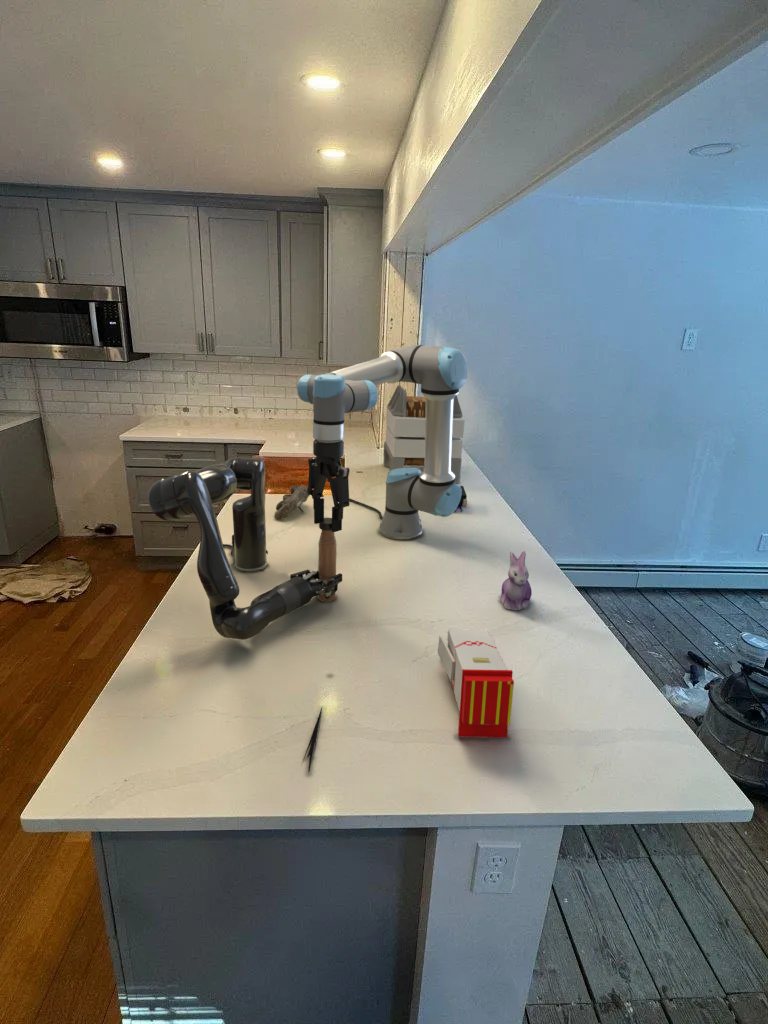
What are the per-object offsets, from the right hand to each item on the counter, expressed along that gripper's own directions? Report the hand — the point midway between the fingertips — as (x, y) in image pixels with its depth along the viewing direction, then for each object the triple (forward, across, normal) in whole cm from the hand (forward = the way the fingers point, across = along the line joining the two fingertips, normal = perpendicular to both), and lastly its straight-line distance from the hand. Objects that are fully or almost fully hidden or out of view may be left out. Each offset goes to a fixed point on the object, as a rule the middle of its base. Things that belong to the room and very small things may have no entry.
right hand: (327, 526), depth 147 cm
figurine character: (+21, +26, -87) cm, 93 cm away
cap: (-1, 0, 0) cm, 1 cm away
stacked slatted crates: (+21, +70, -112) cm, 134 cm away
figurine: (+21, -35, -38) cm, 56 cm away
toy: (+21, -51, +2) cm, 55 cm away
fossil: (+21, +61, -32) cm, 72 cm away
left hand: (+15, 0, -3) cm, 15 cm away
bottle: (+21, 0, 0) cm, 21 cm away
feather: (+21, -37, +31) cm, 53 cm away
